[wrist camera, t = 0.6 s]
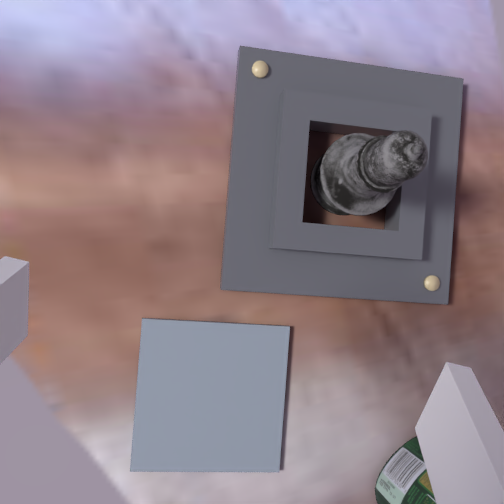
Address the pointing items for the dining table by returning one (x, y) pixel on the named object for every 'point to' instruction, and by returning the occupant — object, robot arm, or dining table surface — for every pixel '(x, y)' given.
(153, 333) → the slate mat
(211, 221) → the dining table surface
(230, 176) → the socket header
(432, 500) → the coffee jar
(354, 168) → the salt shaker
